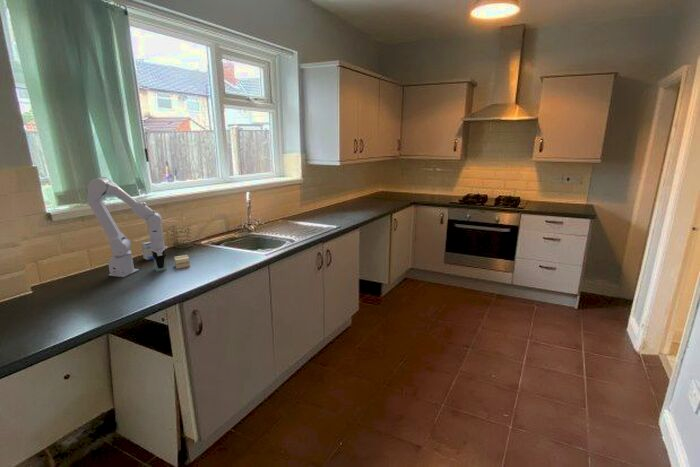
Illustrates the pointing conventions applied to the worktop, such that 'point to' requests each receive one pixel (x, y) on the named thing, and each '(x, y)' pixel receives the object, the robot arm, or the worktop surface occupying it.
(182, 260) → the upper slab
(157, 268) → the teal block
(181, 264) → the lower slab
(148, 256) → the medicine box
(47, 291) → the worktop surface
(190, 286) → the worktop surface
